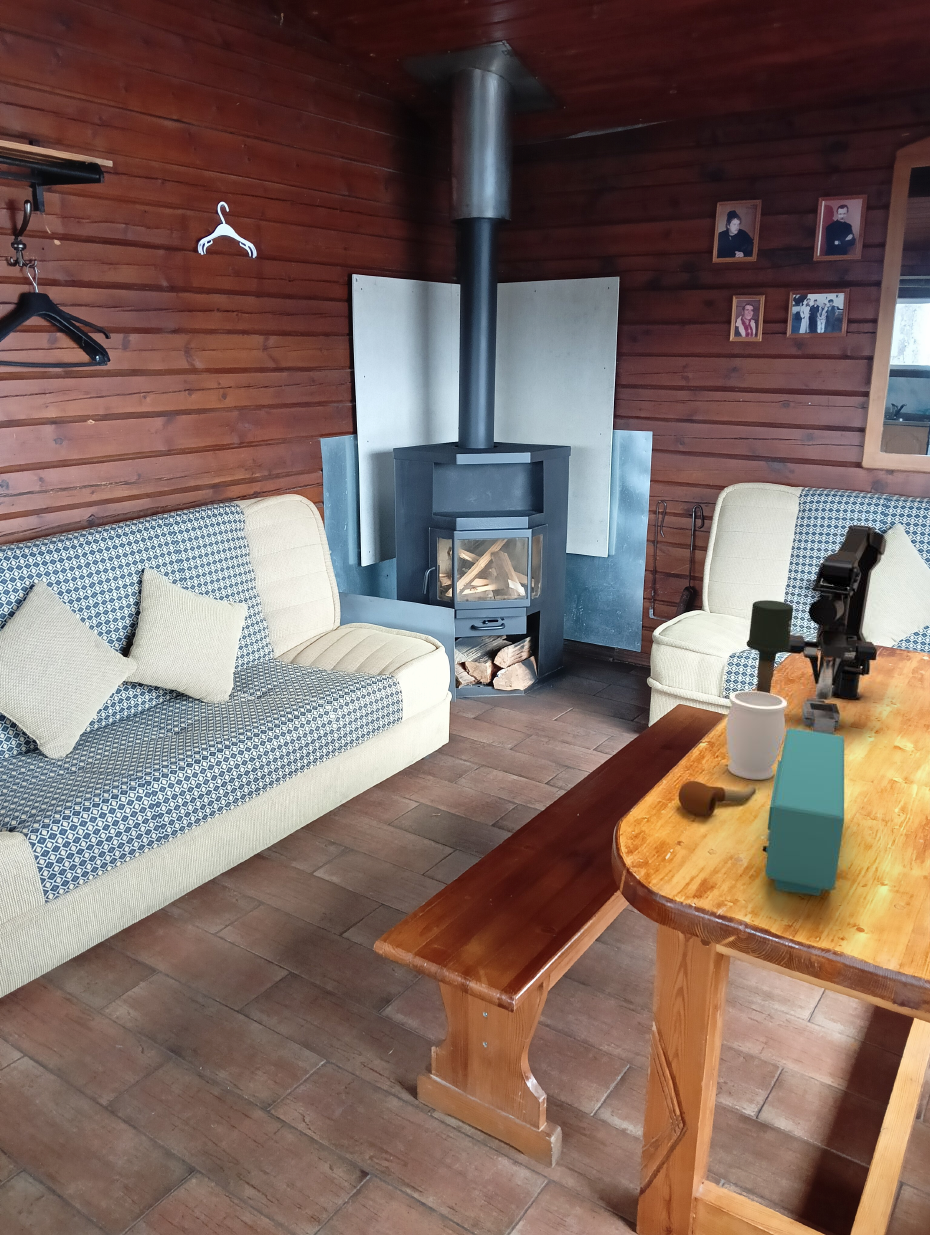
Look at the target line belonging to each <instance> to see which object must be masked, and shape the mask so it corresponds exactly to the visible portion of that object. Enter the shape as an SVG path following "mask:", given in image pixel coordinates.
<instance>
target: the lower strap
mask: <svg viewBox="0 0 930 1235" xmlns="http://www.w3.org/2000/svg"><path fill="white" fill-rule="evenodd" d="M806 701H813V702H822V703H826V702H825V701H826V700H822V699H818V698H816V697H808V698H807V699H806ZM801 718H802V722H803V726H804V727H809V728H812V720H813V718H805V714H804V710H803V708H802V710H801ZM839 725H840V721H835V724H834V730H836V729H837V730H839ZM837 730H836V731H837Z"/></svg>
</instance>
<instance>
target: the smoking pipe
mask: <svg viewBox="0 0 930 1235" xmlns="http://www.w3.org/2000/svg"><path fill="white" fill-rule="evenodd" d="M755 793H757V788H756V787H755V786H754V785H751V784H750V785H748V786H747V787H746V788H745V789H744V790H743V789H742V790H738V789H731V788H726V787H725V788H724V787H722V786H711V785H707V784H705V783H703V782H701V781H698V780H690V781H687V782H685V783H683V784H682V786H681V787H680V789H679V791H678V801H679V804H680V806H681V807H682V809H683V810H684V811H685V812H687V813H688V814H690V815H693V816H696V817H702V818H711V817H712V816H713V814H714V813H715V810H716V807H717V805H718V803H724V802H725V803H741V802H743V801H747V799H749V798H750V797H751V796H752V795H754V794H755Z"/></svg>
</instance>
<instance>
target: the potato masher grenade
mask: <svg viewBox="0 0 930 1235" xmlns="http://www.w3.org/2000/svg"><path fill="white" fill-rule="evenodd" d="M751 607H752V608H751V618H750V626H749V633H748V634H749V636H748V640H747V641H746V647H748V648H749V649H751V650H754V651H757V652H758V662H757V663H758V664H757V665H758V666H757V672H756V673H757V674H756V675H757V676H756V677H757V684H756V691H758V692H765V693H770V694H771V689H772V688H771V687H772V681H773V677H774V673H775V672H774V671H775V662H776V659H777V658H776V657H777V655H778V654H781V653H787V652H788V651H789V650H790V649H791V646H790V645H789V642H790V635H791V633H792V624H793V623H792V622H793V616H794V615H793V614H794V606H793V605H791V604H790V603H787V602H783V601H780V600H779V601H778V600H768V599H765V600H756V601H754V602H753V603H752V606H751Z"/></svg>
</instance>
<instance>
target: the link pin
mask: <svg viewBox="0 0 930 1235" xmlns="http://www.w3.org/2000/svg"><path fill="white" fill-rule="evenodd" d="M819 655H820V656H819V662H818V683H817V684H816V688H815V689H816V690H815V697H814V698H818V699H822V700H824V701H828V700H831V698H832V695H831V692H832V687H833V686H832V684H833V676H834V668H835V661H836V658H835V657H828V658H826V657H823V656H821V654H819Z"/></svg>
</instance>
